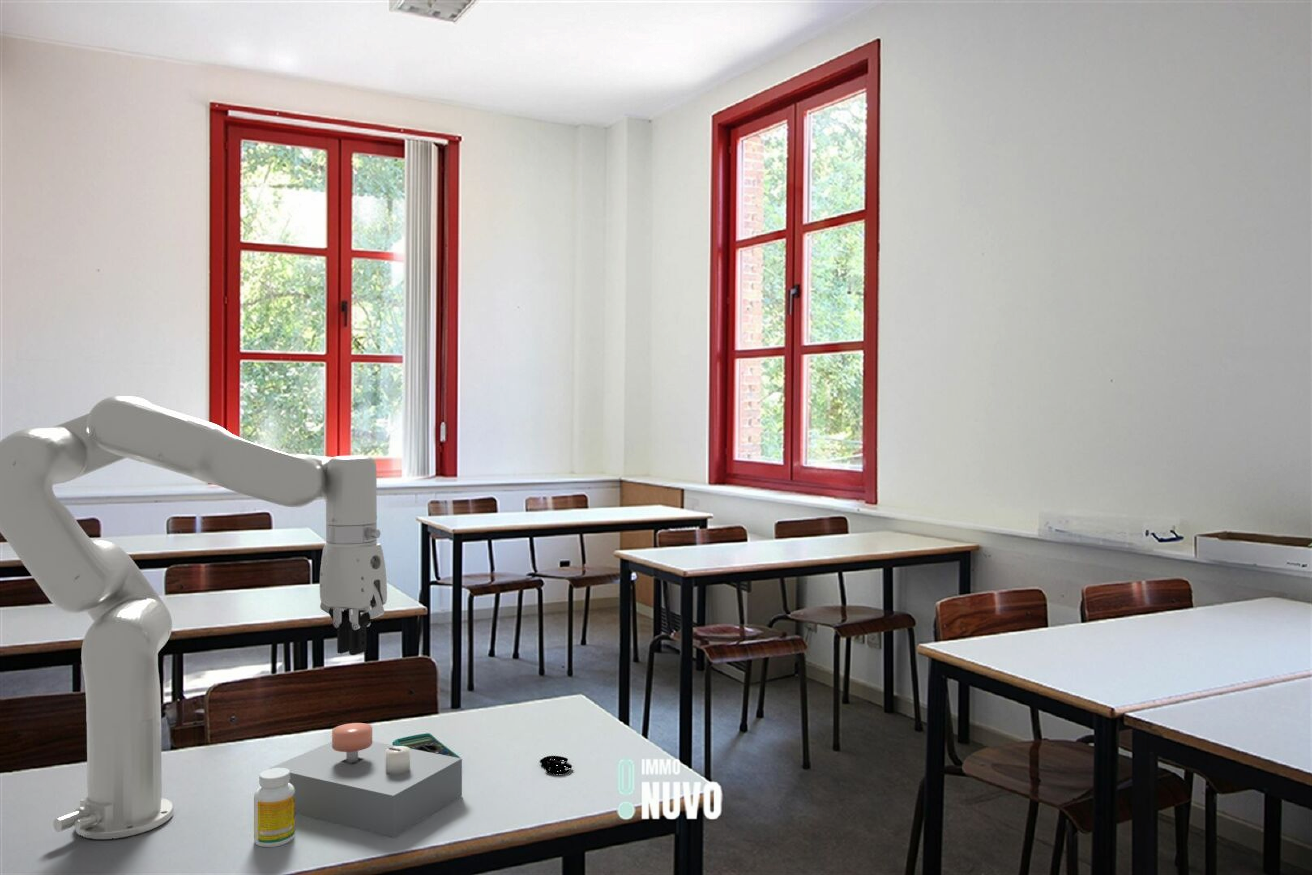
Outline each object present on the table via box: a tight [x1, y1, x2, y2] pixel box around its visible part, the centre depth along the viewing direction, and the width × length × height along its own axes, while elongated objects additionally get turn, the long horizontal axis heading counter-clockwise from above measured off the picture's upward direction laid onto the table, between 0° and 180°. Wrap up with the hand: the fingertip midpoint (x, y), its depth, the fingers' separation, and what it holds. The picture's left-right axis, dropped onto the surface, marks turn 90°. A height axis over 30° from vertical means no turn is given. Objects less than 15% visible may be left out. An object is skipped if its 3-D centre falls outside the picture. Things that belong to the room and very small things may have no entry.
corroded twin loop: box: [539, 755, 573, 776], centre depth 161 cm, size 5×8×1 cm, turn 20°
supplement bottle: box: [253, 768, 296, 848], centre depth 133 cm, size 5×5×10 cm
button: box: [331, 722, 373, 764], centre depth 148 cm, size 6×6×5 cm
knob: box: [386, 746, 410, 774], centre depth 144 cm, size 4×4×3 cm
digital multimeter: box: [391, 732, 461, 758], centre depth 164 cm, size 7×15×3 cm, turn 34°
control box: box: [269, 740, 463, 838], centre depth 147 cm, size 16×24×6 cm, turn 65°
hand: (352, 651), depth 147 cm, fingers closed
